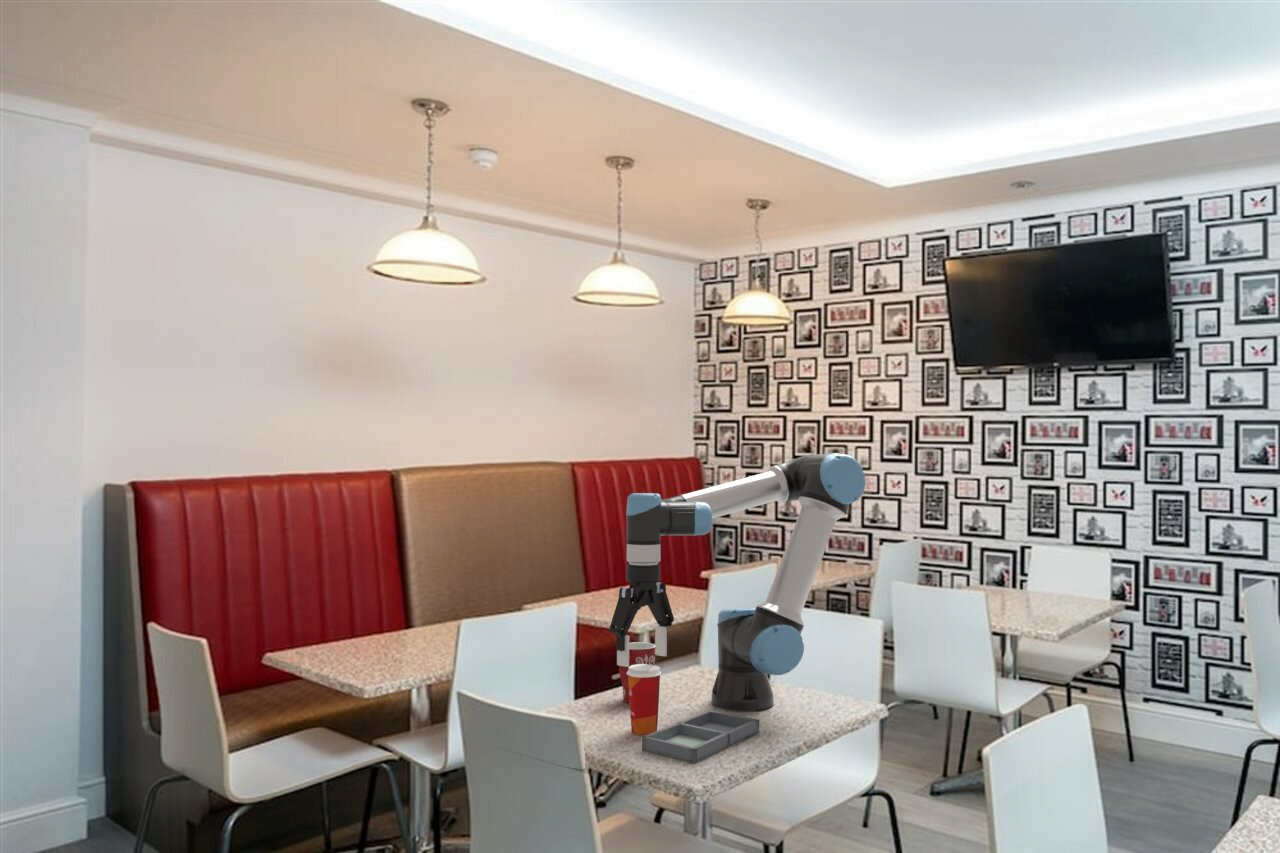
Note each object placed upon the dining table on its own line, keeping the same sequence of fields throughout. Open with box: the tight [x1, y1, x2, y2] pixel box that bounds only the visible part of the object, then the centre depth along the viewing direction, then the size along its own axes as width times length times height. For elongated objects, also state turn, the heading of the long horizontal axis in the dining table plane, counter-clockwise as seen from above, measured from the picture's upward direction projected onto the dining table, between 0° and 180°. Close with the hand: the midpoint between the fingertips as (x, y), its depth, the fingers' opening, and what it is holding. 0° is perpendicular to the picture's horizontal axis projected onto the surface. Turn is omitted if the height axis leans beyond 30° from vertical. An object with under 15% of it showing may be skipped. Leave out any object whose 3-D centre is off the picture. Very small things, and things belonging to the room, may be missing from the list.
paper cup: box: [627, 664, 662, 736], centre depth 194 cm, size 8×8×14 cm
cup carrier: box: [641, 709, 760, 765], centre depth 187 cm, size 25×13×3 cm, turn 142°
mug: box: [618, 641, 656, 704], centre depth 218 cm, size 13×9×14 cm
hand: (642, 660), depth 194 cm, fingers open, 13 cm apart
